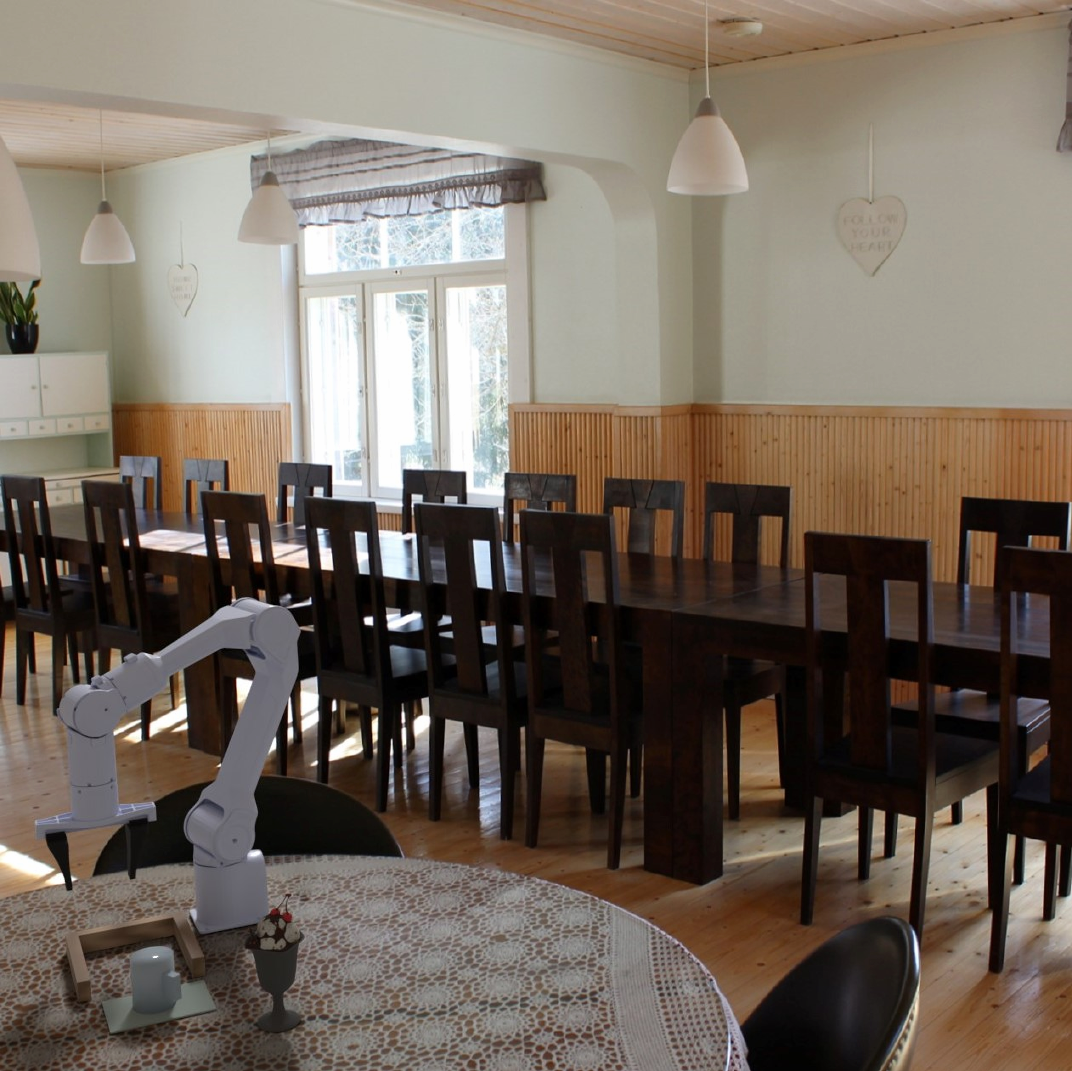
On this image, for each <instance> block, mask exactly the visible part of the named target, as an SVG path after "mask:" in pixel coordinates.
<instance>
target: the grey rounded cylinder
mask: <svg viewBox="0 0 1072 1071" xmlns="http://www.w3.org/2000/svg"><path fill="white" fill-rule="evenodd" d="M174 953H175V952H174V950H173V949H172V948H169V947H168V946H159V945H158V946H149V947H144V948H141V949H139V950H137V951H135V952H133V953H132V954H131V955H129V956H130V957H129V970H130V985H131V995H132V1003H133V1009H134V1011H136V1012H138V1013H141V1014H156V1013H160V1012H163V1011H166V1010H168V1009H170V1008H172V1007H173V1006H174V1005H175V1004H176V1001H177V1000H179V999H181V998H182V995H181V979H182V978H181V973H179V972H176V971H175V970H176V969H175V955H174Z"/></svg>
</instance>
